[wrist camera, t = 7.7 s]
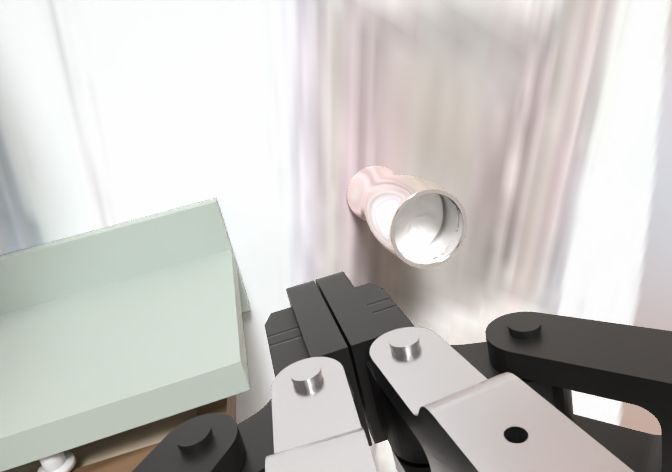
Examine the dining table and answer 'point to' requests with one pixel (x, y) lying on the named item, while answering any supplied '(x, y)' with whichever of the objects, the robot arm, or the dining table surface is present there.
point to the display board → (117, 332)
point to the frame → (132, 442)
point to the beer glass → (408, 215)
